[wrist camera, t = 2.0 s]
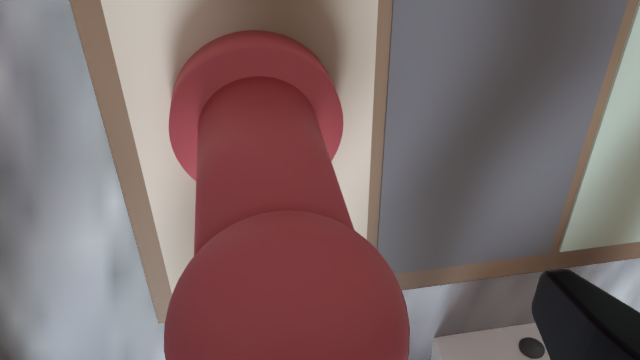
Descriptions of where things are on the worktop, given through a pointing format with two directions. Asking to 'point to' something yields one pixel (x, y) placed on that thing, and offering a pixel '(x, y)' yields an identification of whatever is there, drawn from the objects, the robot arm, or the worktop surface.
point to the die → (492, 345)
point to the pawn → (272, 215)
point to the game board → (407, 126)
